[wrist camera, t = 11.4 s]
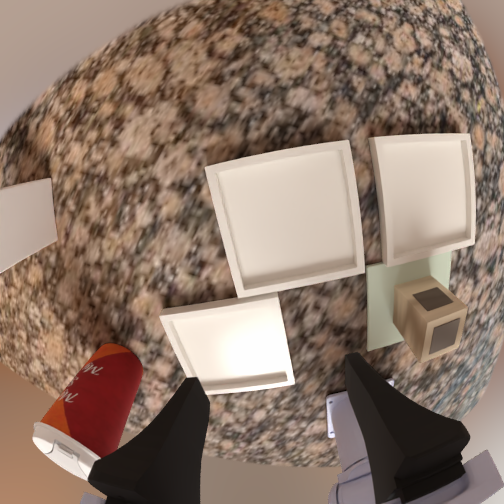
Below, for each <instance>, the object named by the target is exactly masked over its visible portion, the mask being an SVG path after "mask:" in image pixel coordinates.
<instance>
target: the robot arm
mask: <svg viewBox="0 0 504 504" xmlns="http://www.w3.org/2000/svg"><path fill="white" fill-rule="evenodd" d="M345 385H346V389H347V391H344V392H340V393H336V394H331V395H328V396H327V397H326V407H327V427H328V437H329V438H333V437H335V439H336V443H337V448H338V453H339V458H340V463H341V468H342V473H340V474H338V475H337V476H338V481H339V482H338V483H335V484H334V485H333V486H332V488H331V491H330V492H329V497H328V504H480V503H482V502H483V501H485V500H486V499H488V498H489V497H491V496H492V495H493V494H495V493H496V492H497V491H498V490H500V489H501V488H503V486H504V483H503V481H502V479H501V476H500V474H499V472H498V470H497V468H496V466H495V464H494V461H493V459H492V457H491V456H490V453H489V452H488V450H485V451H483V452H482V453H480V454H479V455H477V456H475V457H474V458H473V459H471V460H469V461H467V462H466V463H465V464H464V465H462V463H461V460H462V455H461V451H462V450H463V449H464V448H465V446H466V445H467V444H468V442H469V440H470V435H469V433H468V431H467V429H466V428H465V426H464V425H463V424H462V422H461V421H457V420H454V419H451V418H447V417H444V416H442V415H439V414H437V413H434V412H432V411H430V410H428V409H426V408H424V407H422V406H421V405H419V404H417V403H415V402H414V401H412V400H410V399H409V398H407V397H406V396H404V395H403V394H402V393H400V392H399V391H398V390H396V389H395V388H394V387H393V386H394V380H393V378H390V379H387V380H385V379H384V378H382V377H381V376H380V375H379V374H378V373H377V372H376V371H375V370H374V369H373V368H372V367H371V366H370V365H369V364H368V363H367V361H366V360H365V359H364V358H363V357H362V356H361V355H360V353H358V352H355V353H351V354H347V355H345ZM209 412H210V401H209V399H208V397H207V395H206V393H205V391H204V389H203V387H202V385H201V383H200V381H199V379H198V377H188V378H186V379H185V380H184V381H183V383H182V384H181V386H180V387H179V388H178V390H177V391H176V392H175V394H174V395H173V396H172V398H171V399H170V400H169V402H168V403H167V404H166V406H165V407H164V408H163V409H162V411H161V412H160V413H159V414H158V415H157V416H156V417H155V419H154V420H153V421H152V422H151V423H150V424H149V425H148V426H147V427H146V428H145V429H144V430H143V431H142V432H140V433H139V434H138V435H137V436H136V437H134V438H133V439H132V440H130V441H129V442H128V443H127V444H125V445H124V446H122V447H121V448H119V449H117V450H116V451H114V452H112V453H111V454H109V455H107V456H105V457H103V458H101V459H98V460H96V461H95V462H94V464H93V466H92V468H91V471H90V473H89V476H88V478H87V480H88V482H89V483H90V484H91V485H92V486H93V487H95V488H96V489H98V490H99V491H100V492H102V493H103V494H105V495H107V499H106V500H105V499H103V498H100V497H98V496H95V495H92V494H89V493H87V492H84V494H83V497H82V499H81V502H80V504H200V473H201V458H202V453H203V448H204V443H205V438H206V433H207V427H208V422H209Z"/></svg>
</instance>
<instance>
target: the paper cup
mask: <svg viewBox="0 0 504 504" xmlns="http://www.w3.org/2000/svg"><path fill="white" fill-rule="evenodd" d="M142 375H143V367H142V364H141V362H140V360H139V359H138V358H137V356H136V355H135V354H134V353H132V352H131V351H130V350H128V349H127V348H125V347H123V346H121V345H119V344H115V343H106V344H104V345H102V346H101V347H100V348H99V349H98V350H97V351H96V352H95V353H94V355H93V356H92V357H91V358H90V359H89V360H88V362H87V363H86V364H85V365H84V366H83V368H82V369H81V370H80V371H79V372H78V374H77V375H76V376H75V377H74V379H73V380H72V381H71V382H70V384H69V385H68V386H67V387H66V389H65V390H64V391H63V392H62V394H61V395H60V396H59V398H58V399H57V400H56V402H55V403H54V404H53V405H52V407H51V408H50V409H49V411H48V412H47V413H46V415H45V416H44V417H43V419H42V420H41V422H35V423H34V430H35V431H34V434H33V441H34V443H35V444H36V446H37V447H38V448H39V449H40V450H41V451H42V452H43V453H44V454H45V455H46V456H47V457H49V458H50V459H51V460H52V461H54V462H55V463H56V464H58V465H59V466H61V467H62V468H64V469H65V470H67V471H69V472H71V473H72V474H74V475H76V476H78V477H80V478H82V479H85V480H87V478H88V476H89V473H90V471H91V468H92V466H93V464H94V462H95V461H96V460H98V459H101V458H103V457H105V456H107V455H109V454H111V453H112V452H114V451H116V450H117V448H118V445H119V442H120V439H121V436H122V433H123V430H124V427H125V424H126V421H127V418H128V415H129V413H130V410H131V407H132V404H133V401H134V398H135V396H136V393H137V390H138V387H139V384H140V381H141V378H142ZM87 481H88V480H87Z"/></svg>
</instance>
